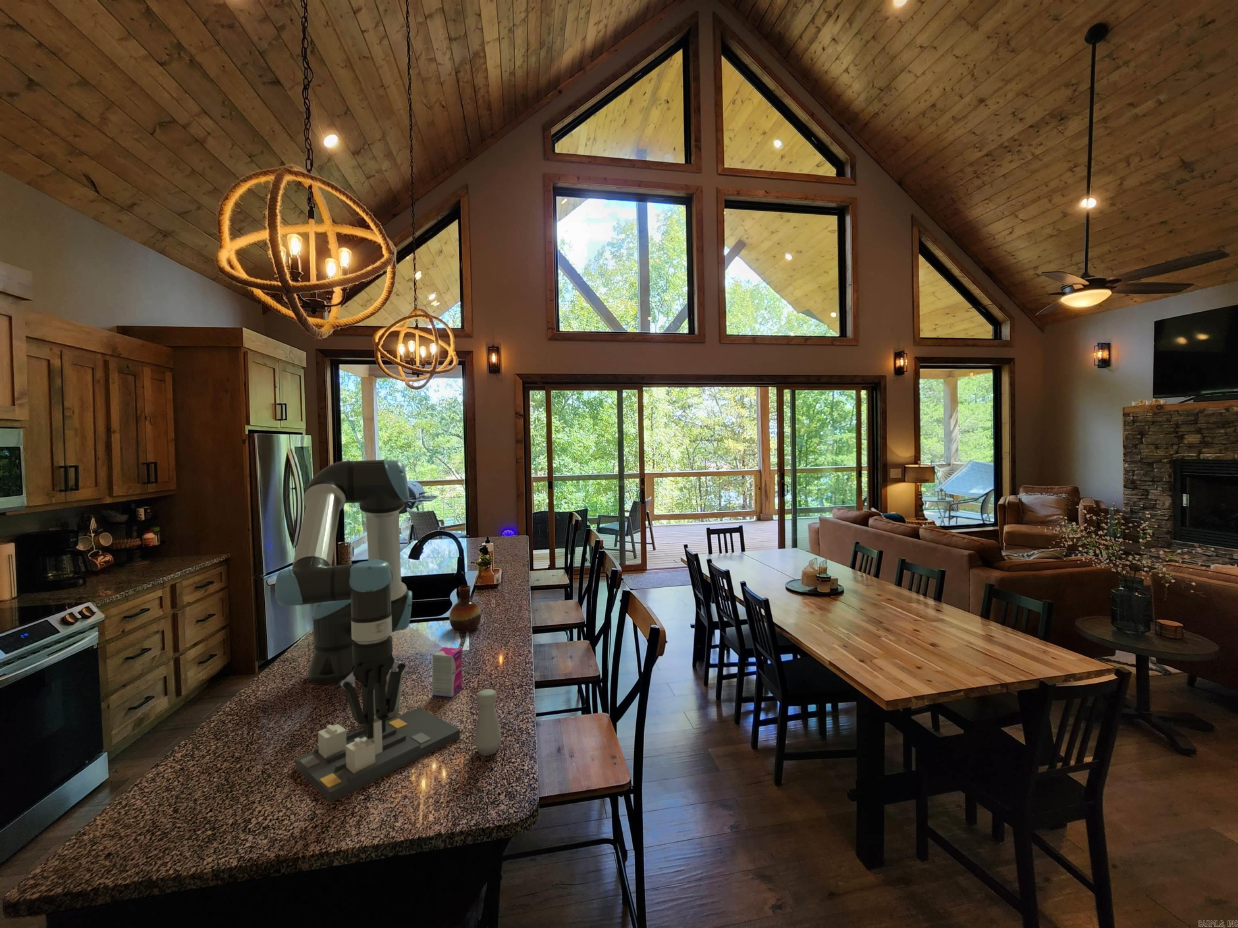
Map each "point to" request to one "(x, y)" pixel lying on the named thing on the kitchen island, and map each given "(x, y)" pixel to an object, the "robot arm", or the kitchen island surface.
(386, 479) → the robot arm
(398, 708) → the coffee cup
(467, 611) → the vase
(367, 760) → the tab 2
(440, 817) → the kitchen island surface
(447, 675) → the supplement box
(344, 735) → the white slider knob
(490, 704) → the salt shaker
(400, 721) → the switch bank
